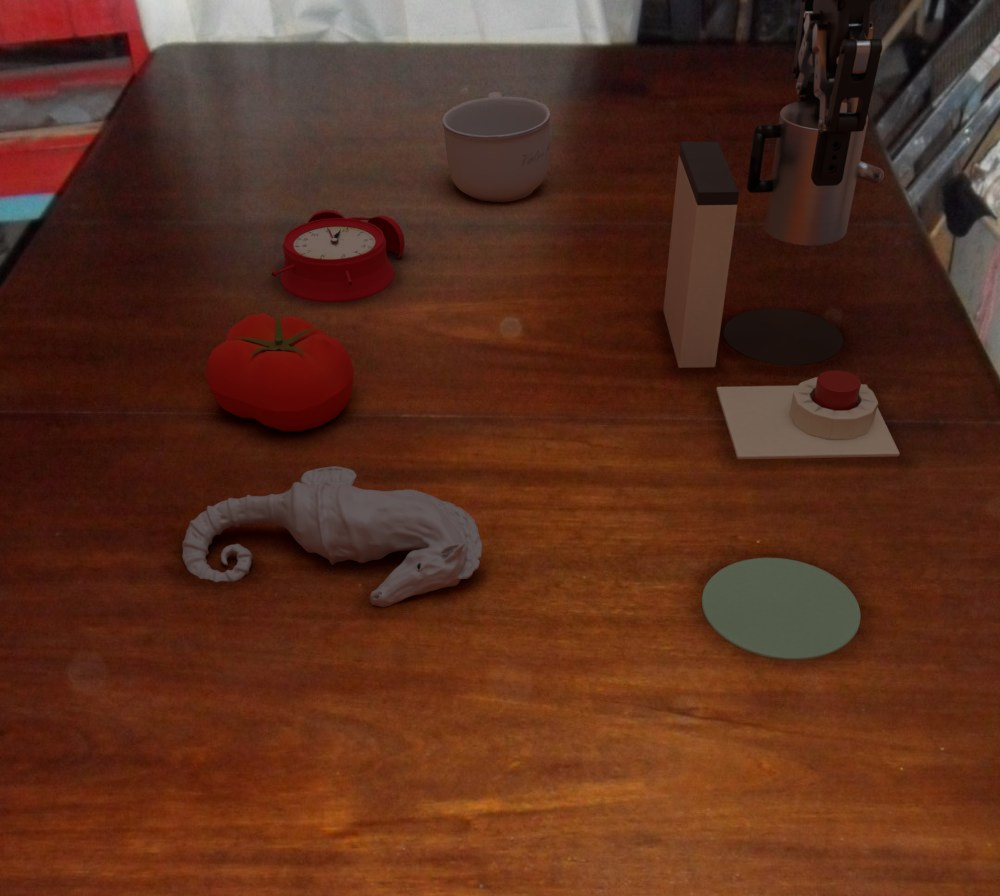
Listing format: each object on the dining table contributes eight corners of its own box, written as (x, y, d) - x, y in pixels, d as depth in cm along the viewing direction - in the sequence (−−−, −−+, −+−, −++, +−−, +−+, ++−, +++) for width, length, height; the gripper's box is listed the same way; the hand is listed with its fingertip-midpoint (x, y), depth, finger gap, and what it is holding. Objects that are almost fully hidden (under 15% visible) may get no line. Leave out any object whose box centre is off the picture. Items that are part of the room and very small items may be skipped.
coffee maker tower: (696, 319, 104) (717, 141, 94) (713, 377, 97) (739, 191, 87) (662, 320, 104) (680, 141, 94) (677, 378, 97) (698, 191, 87)
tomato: (304, 459, 89) (293, 380, 84) (193, 419, 93) (176, 342, 88) (379, 401, 95) (373, 324, 90) (272, 366, 99) (260, 290, 94)
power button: (850, 390, 91) (855, 369, 90) (860, 412, 89) (865, 391, 87) (809, 391, 91) (813, 370, 89) (818, 413, 88) (822, 391, 87)
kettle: (863, 210, 96) (887, 89, 90) (883, 244, 92) (910, 118, 85) (734, 214, 96) (749, 92, 90) (748, 247, 92) (765, 122, 85)
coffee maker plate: (826, 317, 105) (828, 307, 104) (853, 375, 98) (855, 364, 97) (713, 319, 104) (714, 308, 104) (732, 377, 97) (733, 366, 97)
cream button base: (863, 397, 95) (871, 363, 93) (896, 467, 88) (906, 432, 86) (714, 400, 95) (719, 365, 93) (735, 470, 88) (741, 435, 86)
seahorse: (168, 619, 74) (483, 568, 73) (168, 469, 79) (464, 419, 78) (196, 656, 79) (493, 609, 78) (195, 512, 84) (474, 466, 83)
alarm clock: (253, 267, 104) (308, 165, 111) (269, 325, 109) (320, 224, 117) (366, 280, 102) (414, 175, 109) (376, 338, 107) (422, 235, 115)
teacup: (541, 217, 120) (543, 134, 114) (435, 211, 121) (432, 128, 115) (558, 166, 129) (560, 86, 124) (460, 160, 131) (458, 81, 125)
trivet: (838, 565, 80) (840, 555, 79) (875, 666, 73) (878, 656, 72) (690, 568, 80) (691, 558, 79) (713, 669, 73) (714, 659, 72)
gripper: (947, -70, 74) (888, 202, 85) (887, -119, 84) (842, 130, 96) (826, -68, 73) (784, 205, 85) (781, -117, 84) (749, 133, 95)
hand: (815, 165), depth 90 cm, fingers closed on kettle, 6 cm apart
